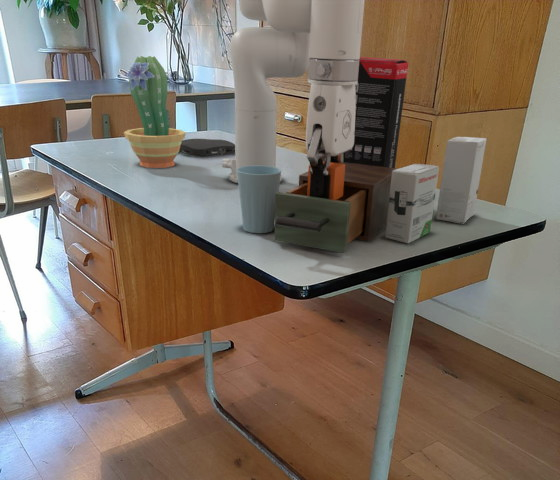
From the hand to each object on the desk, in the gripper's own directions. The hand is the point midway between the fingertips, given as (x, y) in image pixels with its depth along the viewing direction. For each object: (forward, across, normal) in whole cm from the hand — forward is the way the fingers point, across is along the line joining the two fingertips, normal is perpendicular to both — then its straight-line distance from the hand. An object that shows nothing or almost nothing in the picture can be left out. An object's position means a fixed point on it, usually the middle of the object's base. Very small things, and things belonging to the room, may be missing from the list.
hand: (325, 195), depth 98 cm
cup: (+8, +1, +13) cm, 15 cm away
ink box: (+8, +11, -12) cm, 18 cm away
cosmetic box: (+8, +28, -17) cm, 34 cm away
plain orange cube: (0, 0, 0) cm, 0 cm away
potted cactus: (+8, +38, +62) cm, 73 cm away
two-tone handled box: (+7, -1, 0) cm, 7 cm away
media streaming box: (+8, +60, +61) cm, 86 cm away
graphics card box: (+8, +31, +6) cm, 33 cm away
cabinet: (+8, +12, 0) cm, 15 cm away
